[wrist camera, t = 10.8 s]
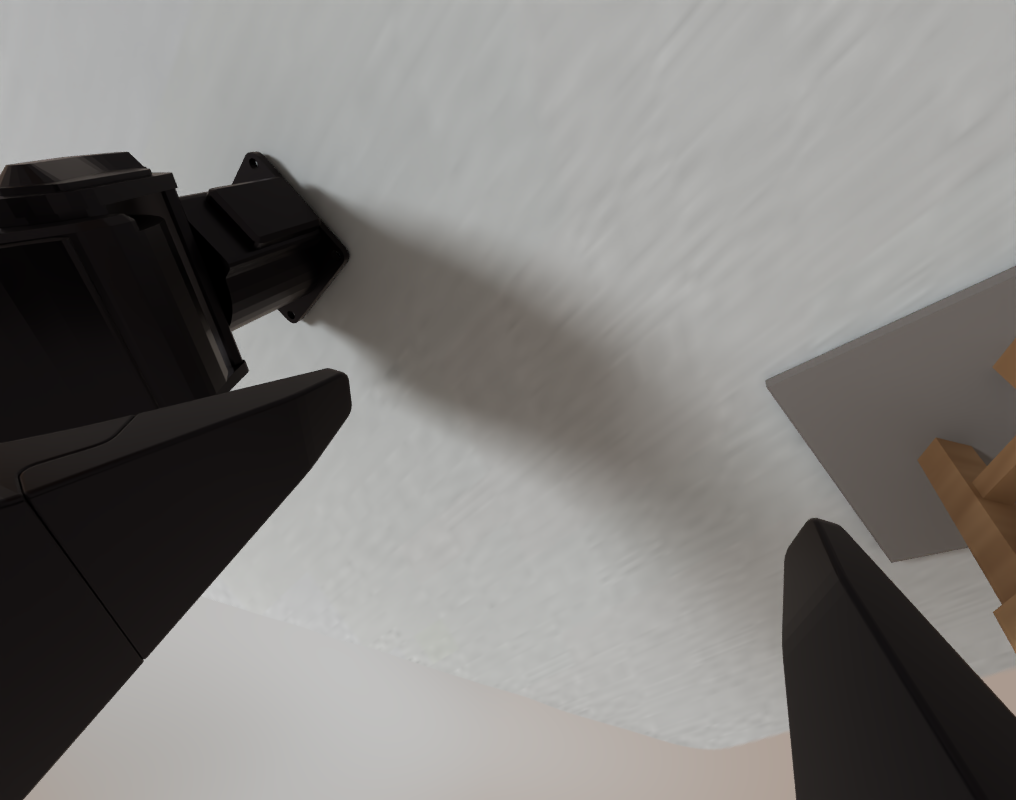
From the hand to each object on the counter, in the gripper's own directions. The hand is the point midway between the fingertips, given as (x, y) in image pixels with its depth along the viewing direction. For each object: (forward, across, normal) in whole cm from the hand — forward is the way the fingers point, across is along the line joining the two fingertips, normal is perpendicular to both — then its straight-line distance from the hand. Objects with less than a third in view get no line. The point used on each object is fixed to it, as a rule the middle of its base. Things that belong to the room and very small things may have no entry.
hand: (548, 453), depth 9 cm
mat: (+13, -14, +3) cm, 20 cm away
